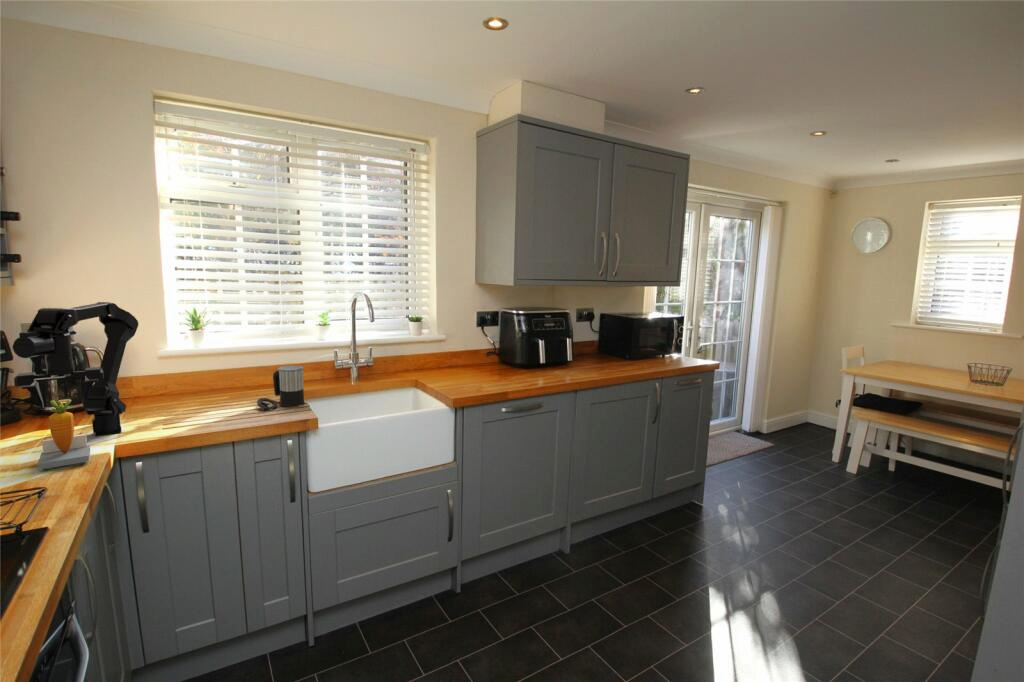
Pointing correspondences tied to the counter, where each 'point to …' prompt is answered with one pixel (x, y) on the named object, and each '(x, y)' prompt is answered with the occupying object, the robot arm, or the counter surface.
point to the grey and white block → (56, 458)
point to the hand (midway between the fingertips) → (64, 405)
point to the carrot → (61, 426)
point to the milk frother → (286, 388)
